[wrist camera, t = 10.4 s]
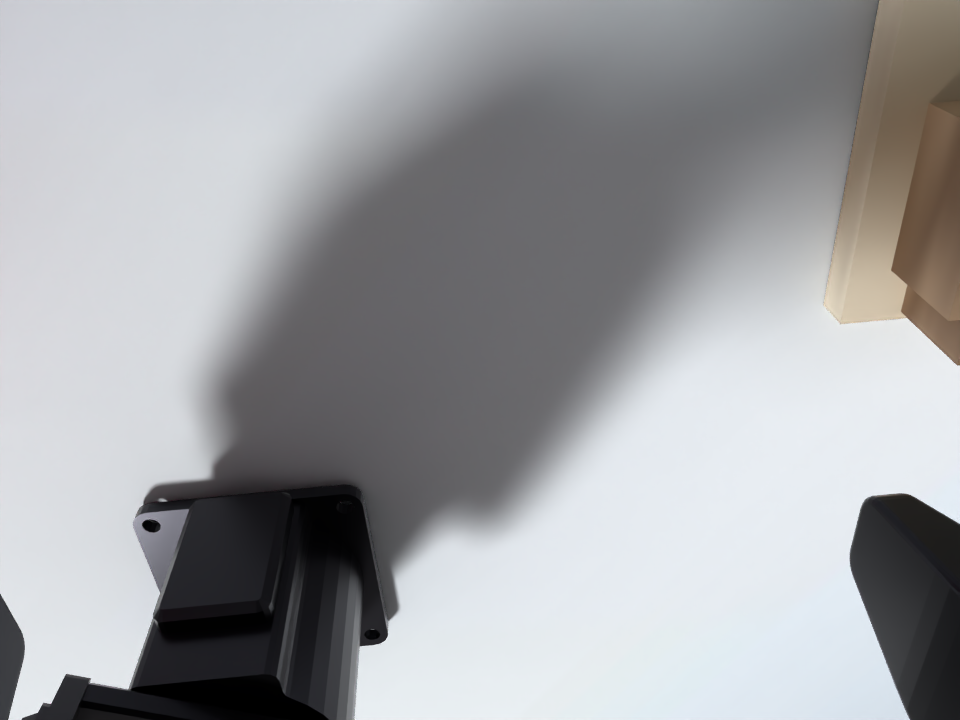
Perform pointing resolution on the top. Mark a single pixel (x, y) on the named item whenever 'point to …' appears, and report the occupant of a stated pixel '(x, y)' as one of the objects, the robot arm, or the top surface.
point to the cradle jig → (905, 179)
